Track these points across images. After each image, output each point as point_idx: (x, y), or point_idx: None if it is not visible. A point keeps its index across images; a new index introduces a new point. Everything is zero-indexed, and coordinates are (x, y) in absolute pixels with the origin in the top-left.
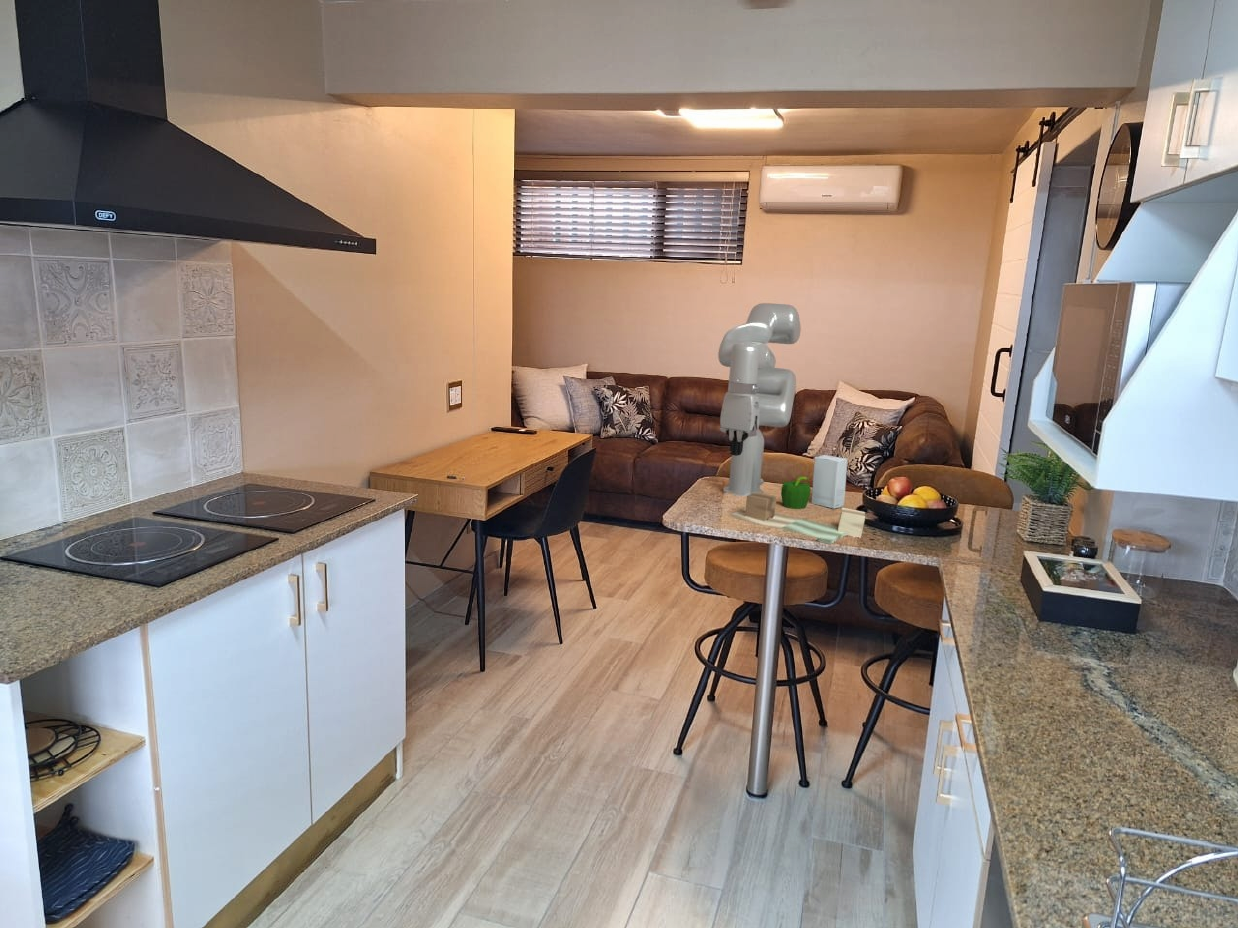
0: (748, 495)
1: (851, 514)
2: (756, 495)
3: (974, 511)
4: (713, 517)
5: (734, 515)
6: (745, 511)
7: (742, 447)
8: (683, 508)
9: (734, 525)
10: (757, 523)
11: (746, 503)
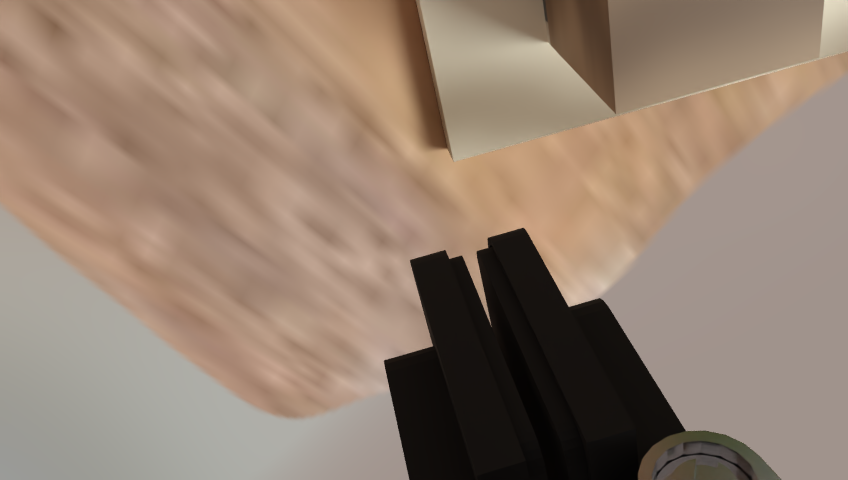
0: (623, 98)
1: None
2: (675, 21)
3: None
4: (361, 187)
5: (479, 92)
6: (563, 58)
7: (636, 361)
8: (60, 226)
9: (568, 189)
10: (701, 91)
11: (590, 84)
